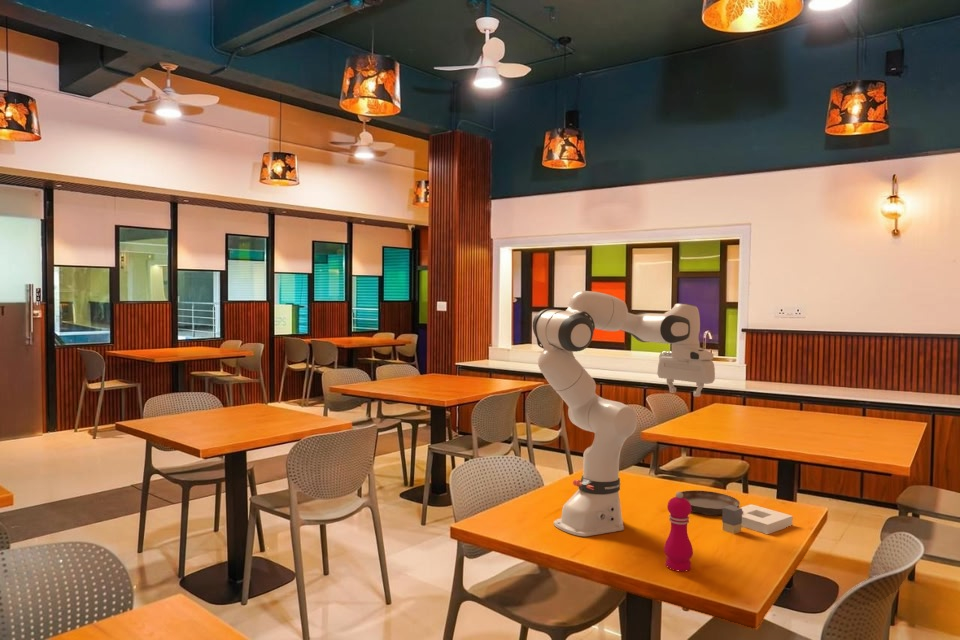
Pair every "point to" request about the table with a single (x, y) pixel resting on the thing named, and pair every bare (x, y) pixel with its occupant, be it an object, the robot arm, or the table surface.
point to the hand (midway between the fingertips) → (684, 394)
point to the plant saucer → (709, 501)
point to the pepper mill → (678, 534)
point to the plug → (732, 519)
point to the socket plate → (764, 519)
